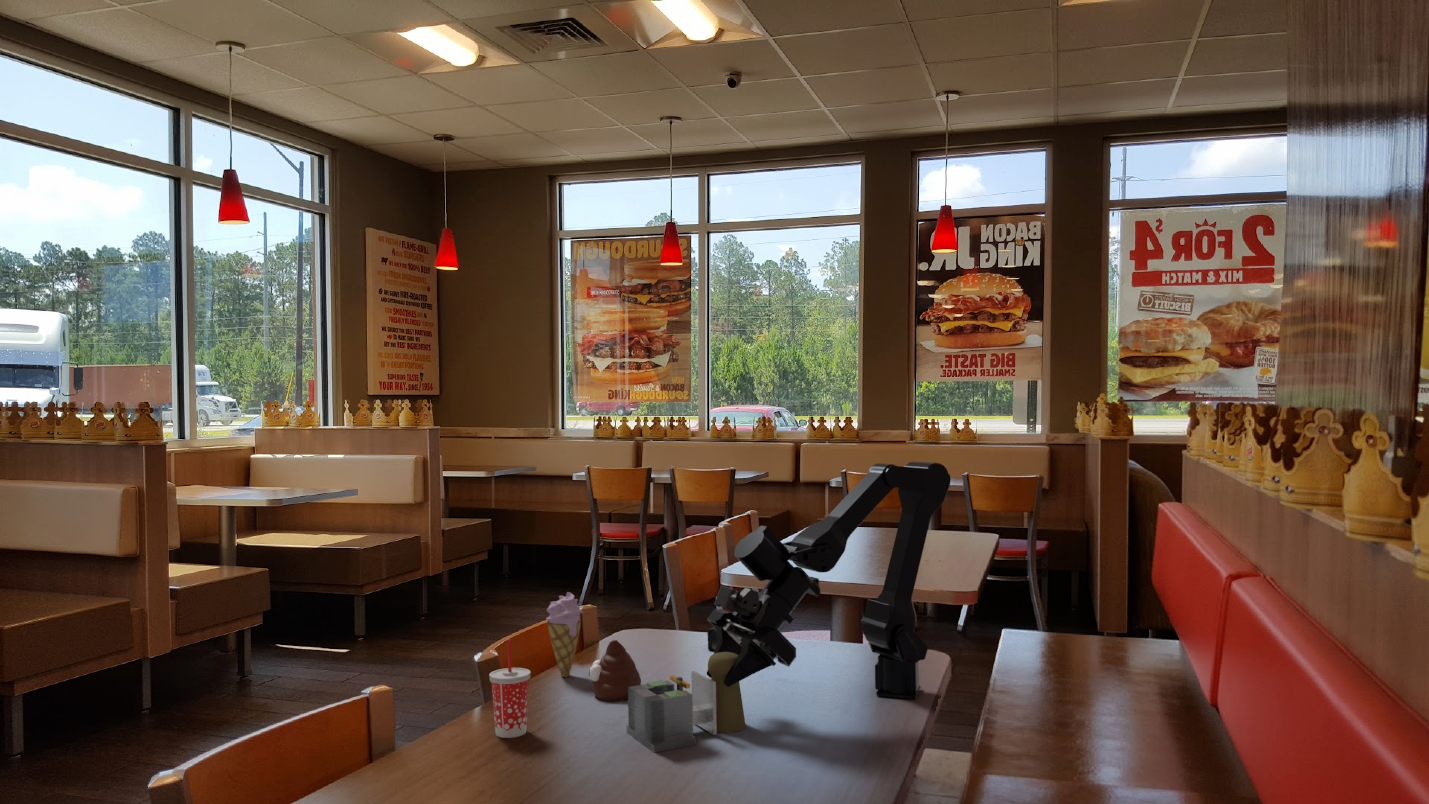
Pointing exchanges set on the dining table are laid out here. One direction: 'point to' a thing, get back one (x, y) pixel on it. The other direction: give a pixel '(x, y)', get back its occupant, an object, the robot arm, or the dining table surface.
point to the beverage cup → (510, 699)
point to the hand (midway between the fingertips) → (717, 680)
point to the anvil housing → (660, 716)
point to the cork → (726, 694)
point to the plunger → (701, 700)
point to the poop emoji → (614, 674)
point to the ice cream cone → (564, 630)
